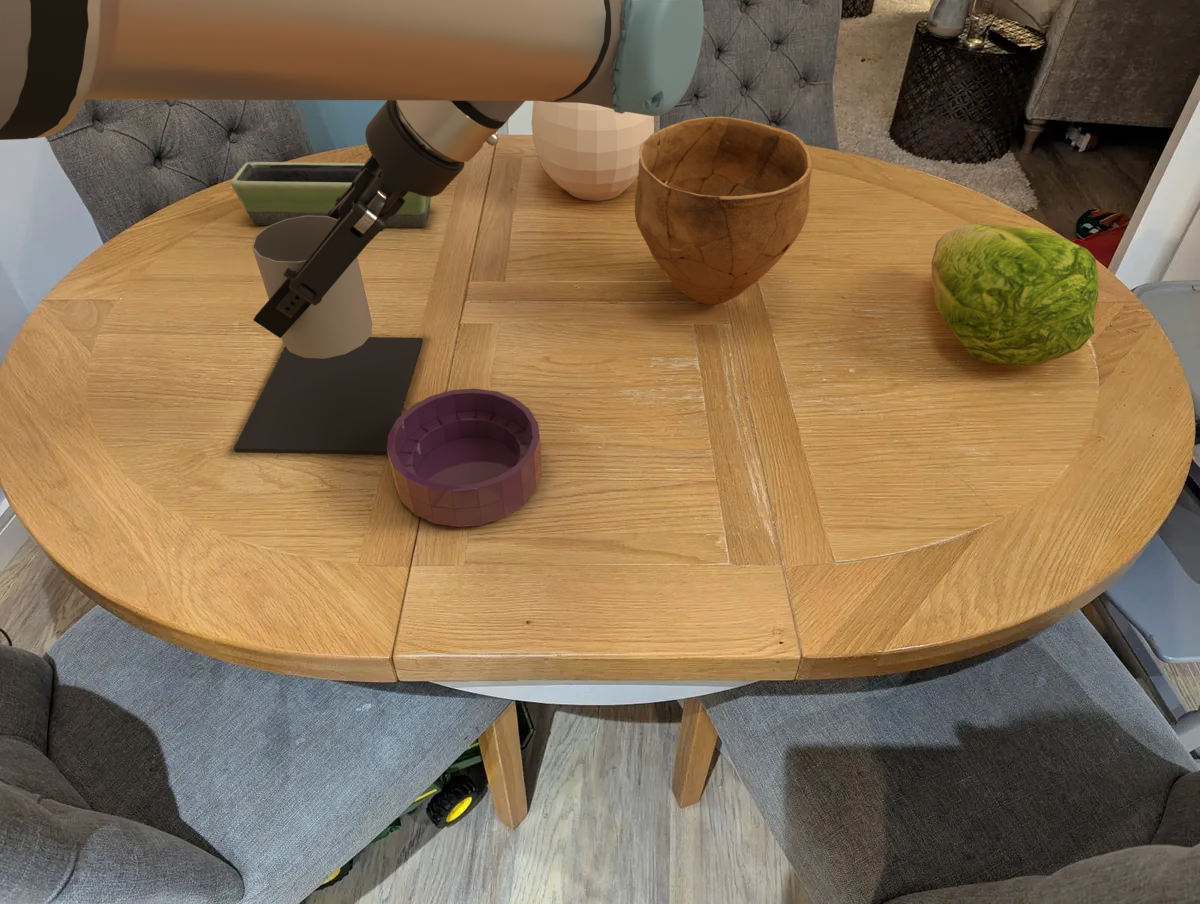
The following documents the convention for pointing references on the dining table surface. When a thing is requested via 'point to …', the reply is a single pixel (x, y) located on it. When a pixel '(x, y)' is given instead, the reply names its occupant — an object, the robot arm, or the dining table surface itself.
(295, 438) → the place mat
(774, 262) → the bowl
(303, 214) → the planter
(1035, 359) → the lettuce
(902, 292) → the dining table surface
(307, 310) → the cup
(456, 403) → the plum bowl
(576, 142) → the pitcher
